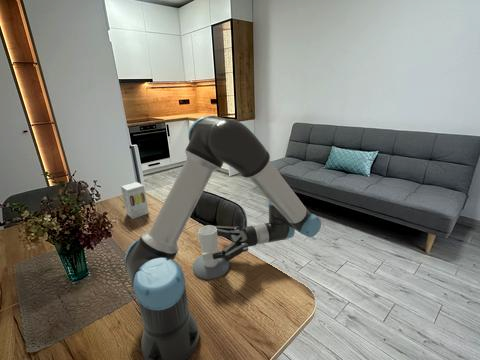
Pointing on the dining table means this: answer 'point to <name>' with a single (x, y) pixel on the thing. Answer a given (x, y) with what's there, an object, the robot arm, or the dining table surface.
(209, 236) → the drinking glass
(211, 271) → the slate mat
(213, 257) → the robot arm
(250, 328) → the dining table surface
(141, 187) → the supplement box
